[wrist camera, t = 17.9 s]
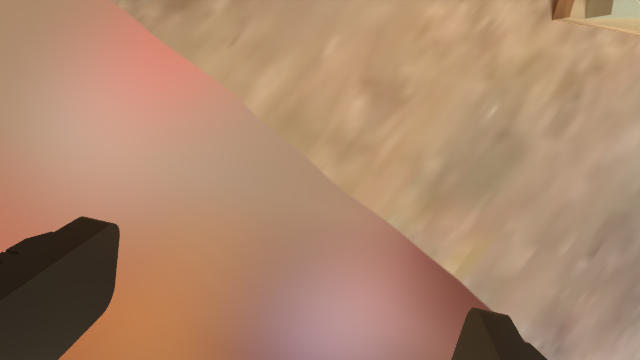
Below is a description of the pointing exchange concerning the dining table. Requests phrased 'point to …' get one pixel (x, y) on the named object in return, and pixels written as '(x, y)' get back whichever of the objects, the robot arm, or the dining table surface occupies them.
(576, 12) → the tower base
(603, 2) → the tower top
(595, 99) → the dining table surface
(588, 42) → the dining table surface
